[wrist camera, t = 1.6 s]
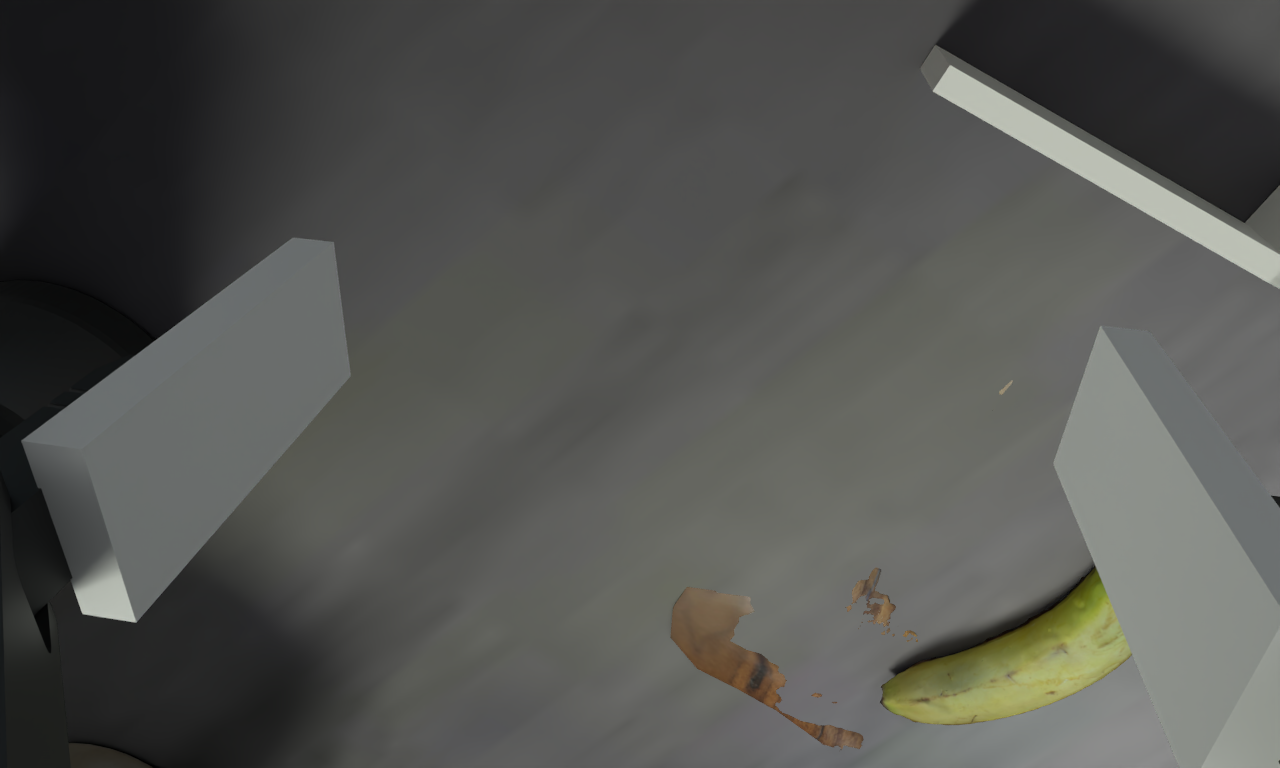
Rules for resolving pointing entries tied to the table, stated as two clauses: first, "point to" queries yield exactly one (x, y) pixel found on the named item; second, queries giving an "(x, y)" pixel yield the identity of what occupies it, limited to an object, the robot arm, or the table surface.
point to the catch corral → (1111, 167)
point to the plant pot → (101, 757)
